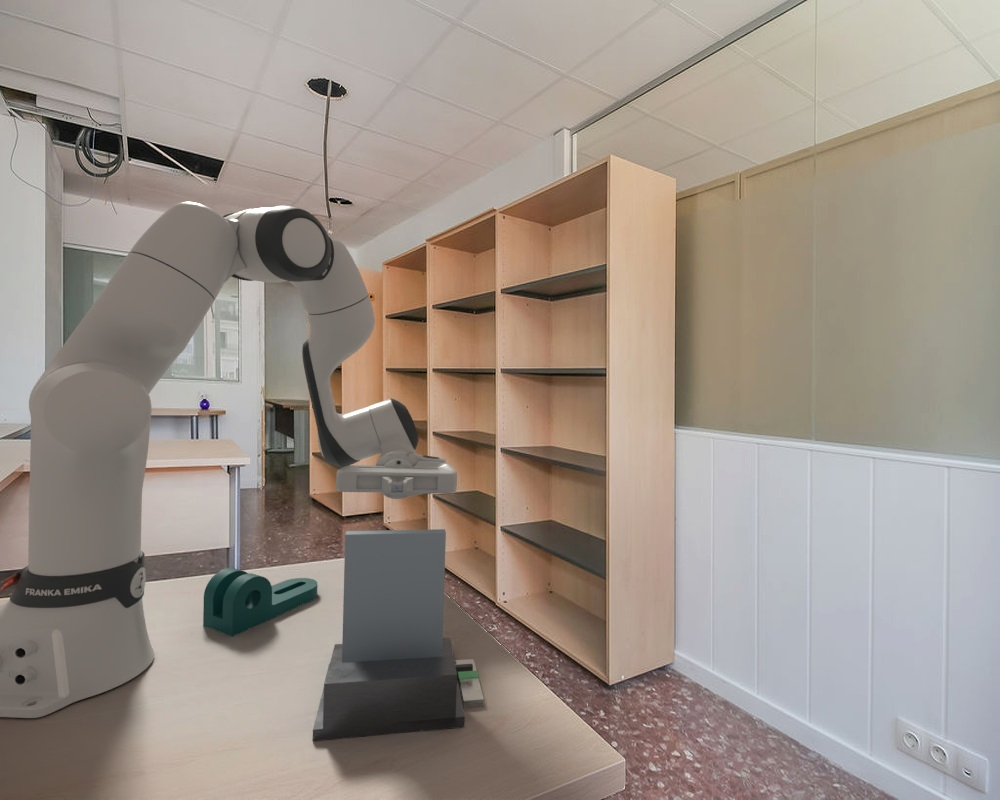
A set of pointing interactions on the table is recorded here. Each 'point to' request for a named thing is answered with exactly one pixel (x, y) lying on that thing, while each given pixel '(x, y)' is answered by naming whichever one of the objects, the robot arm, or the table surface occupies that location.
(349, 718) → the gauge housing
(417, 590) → the grey upright panel
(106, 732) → the table surface
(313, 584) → the bracket
